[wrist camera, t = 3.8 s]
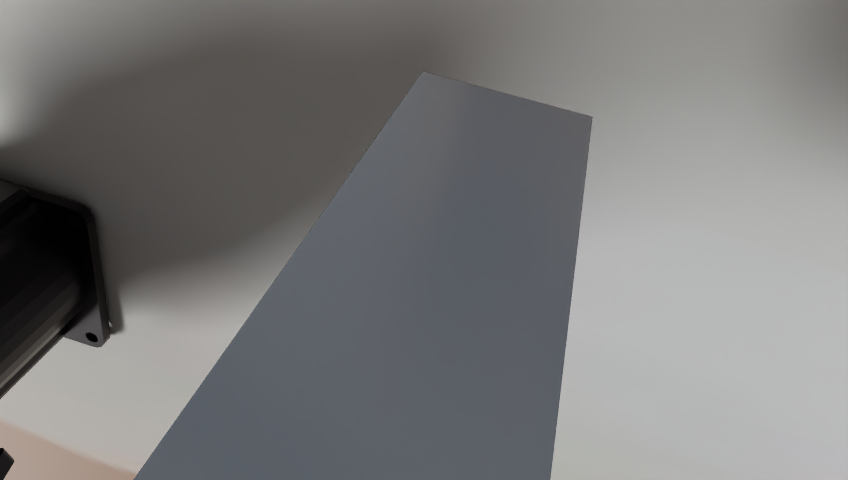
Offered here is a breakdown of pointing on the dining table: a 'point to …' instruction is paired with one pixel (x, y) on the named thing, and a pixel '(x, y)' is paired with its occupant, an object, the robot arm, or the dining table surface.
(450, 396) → the blue-grey flat block
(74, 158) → the dining table surface
